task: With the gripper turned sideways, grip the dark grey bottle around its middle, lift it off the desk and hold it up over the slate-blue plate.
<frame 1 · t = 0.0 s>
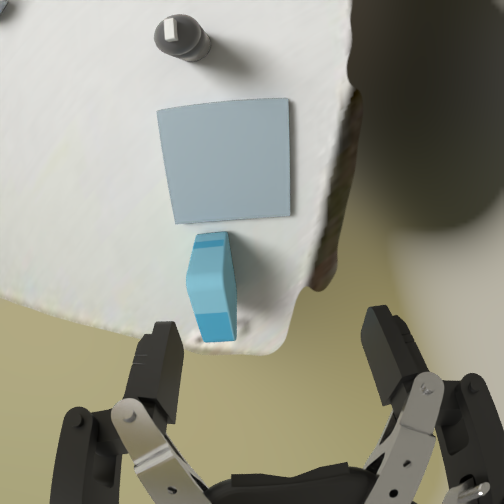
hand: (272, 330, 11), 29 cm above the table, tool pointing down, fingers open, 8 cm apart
data package: (218, 261, 45), on the table
dark grey bottle: (192, 45, 28), on the table
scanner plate: (227, 160, 36), on the table
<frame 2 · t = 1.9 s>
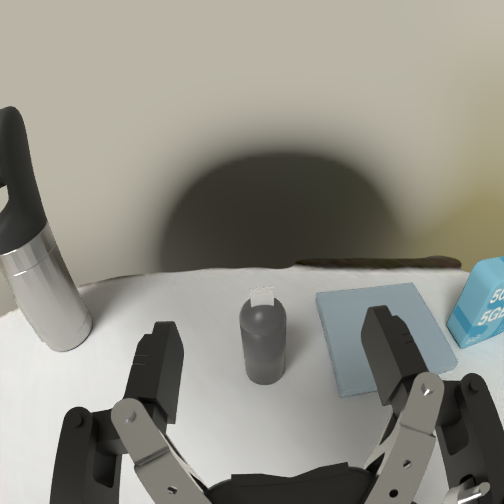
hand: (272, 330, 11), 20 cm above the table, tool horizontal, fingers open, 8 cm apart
data package: (476, 331, 32), on the table
dark grey bottle: (265, 369, 32), on the table
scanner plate: (383, 335, 34), on the table
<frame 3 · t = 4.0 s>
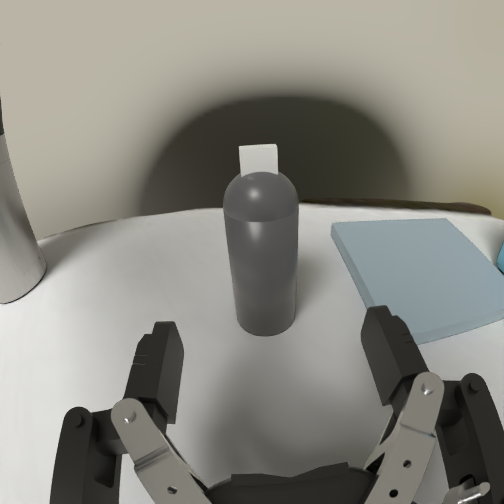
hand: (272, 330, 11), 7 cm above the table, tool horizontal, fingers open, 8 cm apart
dark grey bottle: (265, 314, 22), on the table
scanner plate: (426, 272, 24), on the table
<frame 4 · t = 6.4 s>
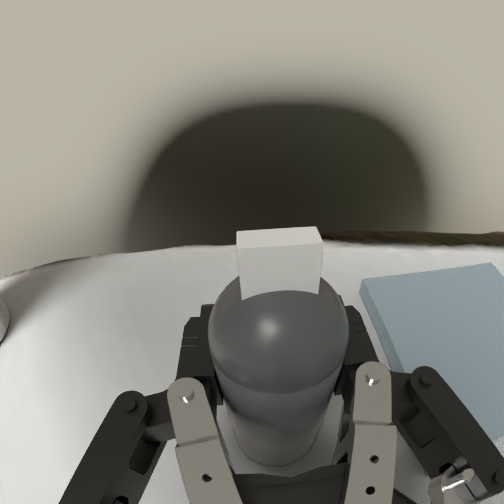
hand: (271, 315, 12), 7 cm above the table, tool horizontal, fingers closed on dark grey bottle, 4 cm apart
dark grey bottle: (275, 431, 14), on the table, touching gripper
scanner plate: (474, 346, 16), on the table
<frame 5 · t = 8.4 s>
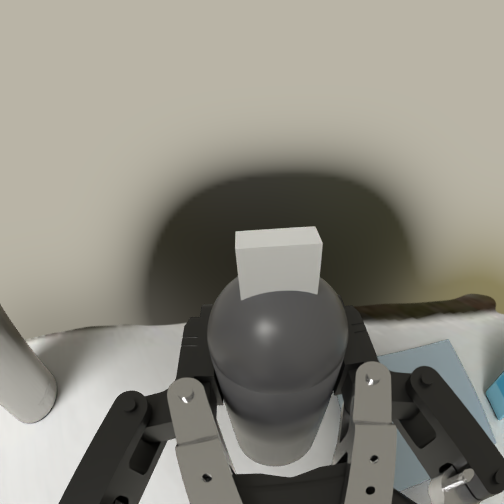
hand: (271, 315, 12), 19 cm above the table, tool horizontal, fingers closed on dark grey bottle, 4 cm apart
dark grey bottle: (275, 431, 14), point 12 cm above the table, touching gripper
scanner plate: (414, 415, 23), on the table
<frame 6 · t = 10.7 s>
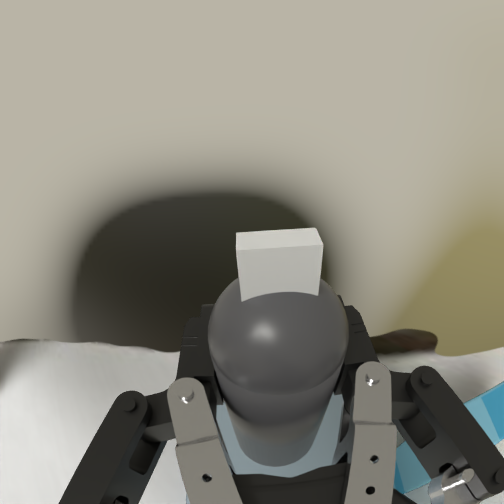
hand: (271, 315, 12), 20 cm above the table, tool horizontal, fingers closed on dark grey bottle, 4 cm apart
data package: (429, 463, 19), on the table
dark grey bottle: (276, 432, 14), point 13 cm above the table, touching gripper
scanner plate: (274, 473, 21), on the table
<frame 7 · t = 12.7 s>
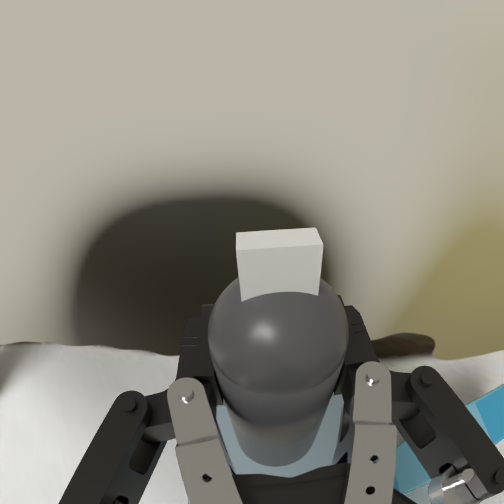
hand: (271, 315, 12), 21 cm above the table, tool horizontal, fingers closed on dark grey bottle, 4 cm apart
data package: (425, 465, 19), on the table
dark grey bottle: (276, 432, 14), point 14 cm above the table, touching gripper
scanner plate: (274, 474, 21), on the table
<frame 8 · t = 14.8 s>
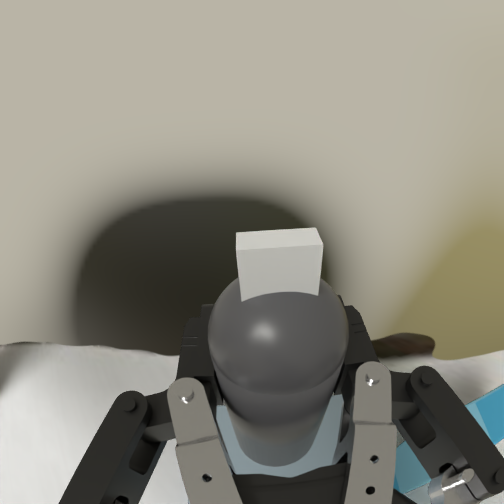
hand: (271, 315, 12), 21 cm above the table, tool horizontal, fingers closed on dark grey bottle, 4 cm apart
data package: (425, 465, 19), on the table
dark grey bottle: (276, 432, 14), point 14 cm above the table, touching gripper
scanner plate: (274, 474, 21), on the table
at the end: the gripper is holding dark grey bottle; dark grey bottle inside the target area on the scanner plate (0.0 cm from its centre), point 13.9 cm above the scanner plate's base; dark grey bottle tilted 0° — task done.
